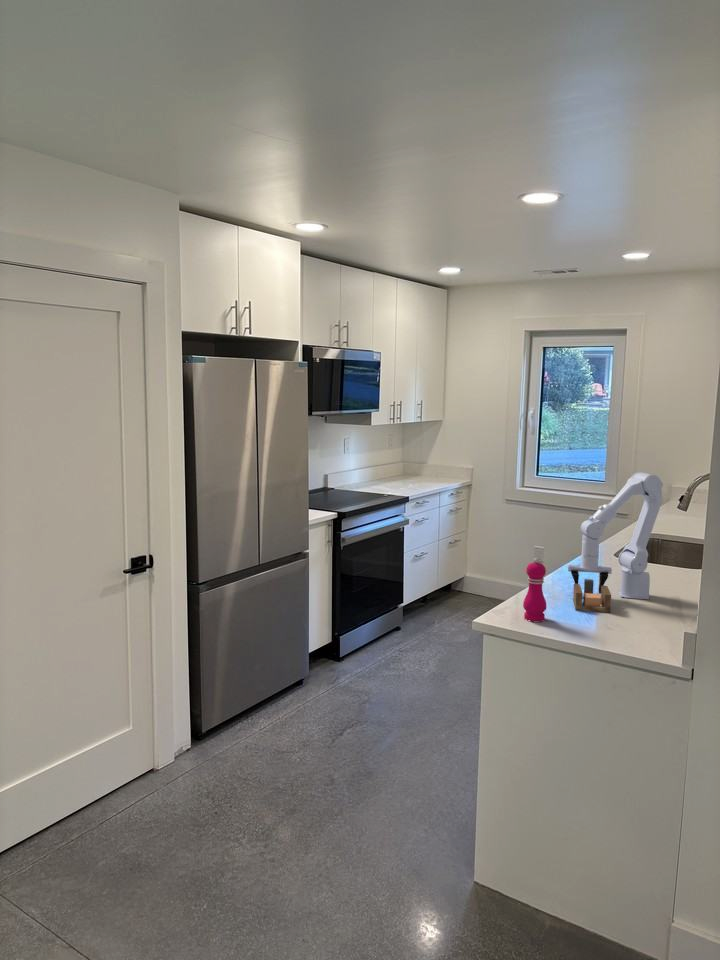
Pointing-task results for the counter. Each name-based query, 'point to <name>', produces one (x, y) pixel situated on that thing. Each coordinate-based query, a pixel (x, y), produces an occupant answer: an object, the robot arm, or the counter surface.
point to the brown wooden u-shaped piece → (604, 602)
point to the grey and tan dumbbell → (590, 594)
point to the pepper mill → (535, 592)
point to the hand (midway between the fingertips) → (588, 592)
